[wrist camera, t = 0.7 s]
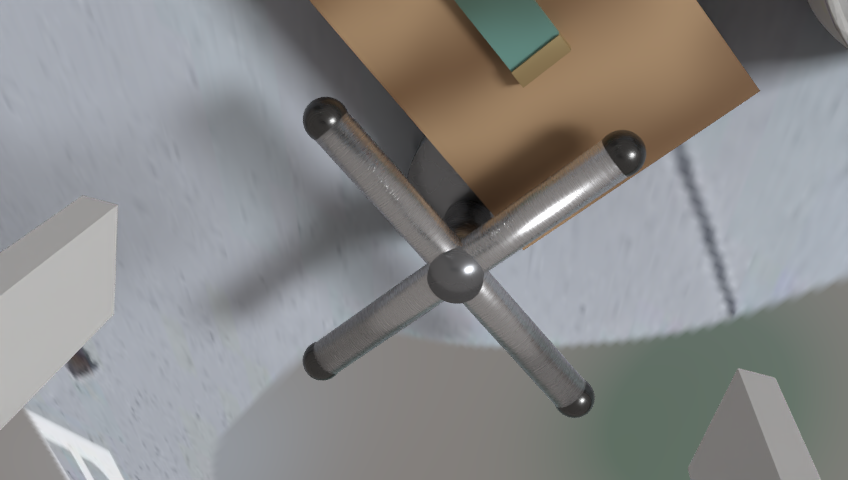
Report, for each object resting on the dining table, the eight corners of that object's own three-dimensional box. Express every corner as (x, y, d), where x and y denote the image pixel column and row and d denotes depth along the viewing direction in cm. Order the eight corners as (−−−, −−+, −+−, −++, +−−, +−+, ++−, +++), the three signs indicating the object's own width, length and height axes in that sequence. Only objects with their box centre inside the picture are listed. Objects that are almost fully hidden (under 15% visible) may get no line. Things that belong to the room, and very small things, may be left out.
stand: (288, -76, 36) (229, -63, 29) (489, -283, 31) (474, -324, 24) (526, 207, 40) (521, 274, 33) (733, 63, 35) (775, 107, 29)
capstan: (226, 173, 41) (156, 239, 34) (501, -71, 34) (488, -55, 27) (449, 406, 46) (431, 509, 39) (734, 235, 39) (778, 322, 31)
